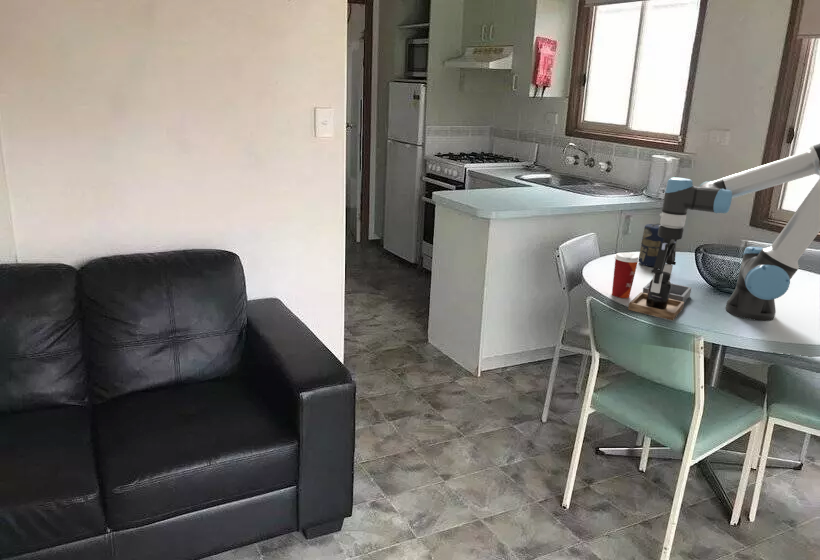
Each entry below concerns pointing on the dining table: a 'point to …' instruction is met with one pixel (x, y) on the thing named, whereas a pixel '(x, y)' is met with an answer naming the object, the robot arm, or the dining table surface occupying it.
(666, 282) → the supplement bottle
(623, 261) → the coffee cup
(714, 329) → the dining table surface
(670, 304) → the tray
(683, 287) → the holder box
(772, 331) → the dining table surface
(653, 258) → the canister
